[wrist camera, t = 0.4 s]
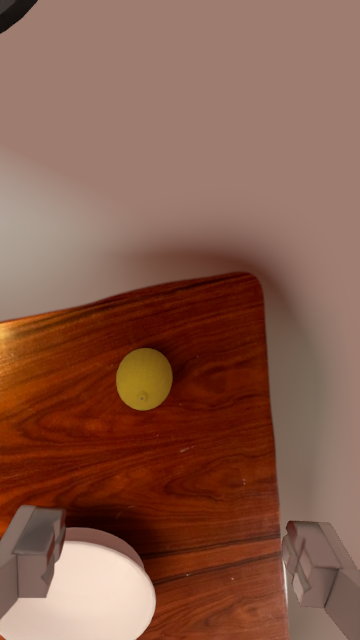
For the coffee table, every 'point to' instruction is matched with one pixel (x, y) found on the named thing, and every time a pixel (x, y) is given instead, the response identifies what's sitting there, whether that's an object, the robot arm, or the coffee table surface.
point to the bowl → (87, 594)
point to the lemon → (144, 379)
